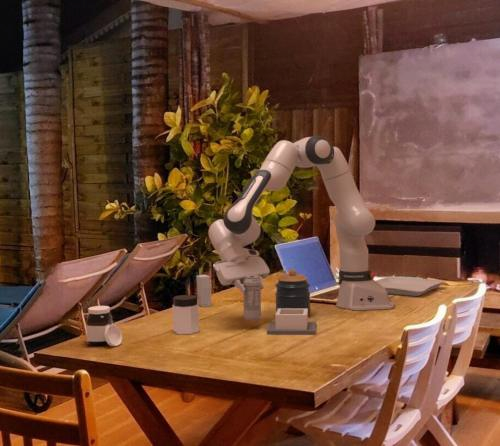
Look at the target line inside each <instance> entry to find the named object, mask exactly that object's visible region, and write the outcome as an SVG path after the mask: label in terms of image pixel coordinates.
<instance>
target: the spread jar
mask: <svg viewBox="0 0 500 446" xmlns="http://www.w3.org/2000/svg"><path fill="white" fill-rule="evenodd" d="M110 310H111V307H110V306H109V305H95V306H90V307H88V308H87V311H88V314H87V317H86V325H85V326H86V340H87V343H88V345H90V346H93V347H102V346H103V347H104V346H107V345H109V346H110V347H117V346H120V345H121V344H122V342H123V333H122V330H121V328H120V327H119V326H118V325H116V324H113V316H112V314H111V311H110Z"/></svg>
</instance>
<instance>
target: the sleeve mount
mask: <svg viewBox="0 0 500 446" xmlns="http://www.w3.org/2000/svg"><path fill="white" fill-rule="evenodd" d="M316 331H317V321H309V317H308V309H293V308H278V310H277V312H276V311H275V319H274V320H271V321H270V323H269V325H268V327H267V329H266V335H280V336H281V335H286V336H287V335H289V336H290V335H291V336H293V335H294V336H295V335H298V336H299V335H301V336H303V335H305V336H308V335H309V336H311V335H313V336H314V335H316Z"/></svg>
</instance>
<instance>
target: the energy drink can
mask: <svg viewBox="0 0 500 446" xmlns="http://www.w3.org/2000/svg"><path fill="white" fill-rule="evenodd" d="M242 285H243V286H246V288H247V291H246V292H243V293H242V295H243V317H244V319H245V320H246V321H252V322H253V321H254V322H255V321H259V320H260V318H261V317H262V289H261V280H260V279H259V276H258V275H249V276H245V279H244V281H243V282H242Z"/></svg>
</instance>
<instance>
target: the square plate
mask: <svg viewBox="0 0 500 446" xmlns="http://www.w3.org/2000/svg"><path fill="white" fill-rule="evenodd" d="M375 281H376V282H377V283H379V284H380V285H381V286H383V287H384V288H385V289H386V291H387V293H388V295H395V296H396V295H397V296H405V297H406V296H407V297H418V296H421V295H423V294H426V293H428V292H430V291H432V290H434V289H437V288H439V287H440V286H442V285H443V283H445V281H444V280H437V279H429V278H419V277H406V276H405V277H404V276H386V277H382V278H379V279H377V280H375Z"/></svg>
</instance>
